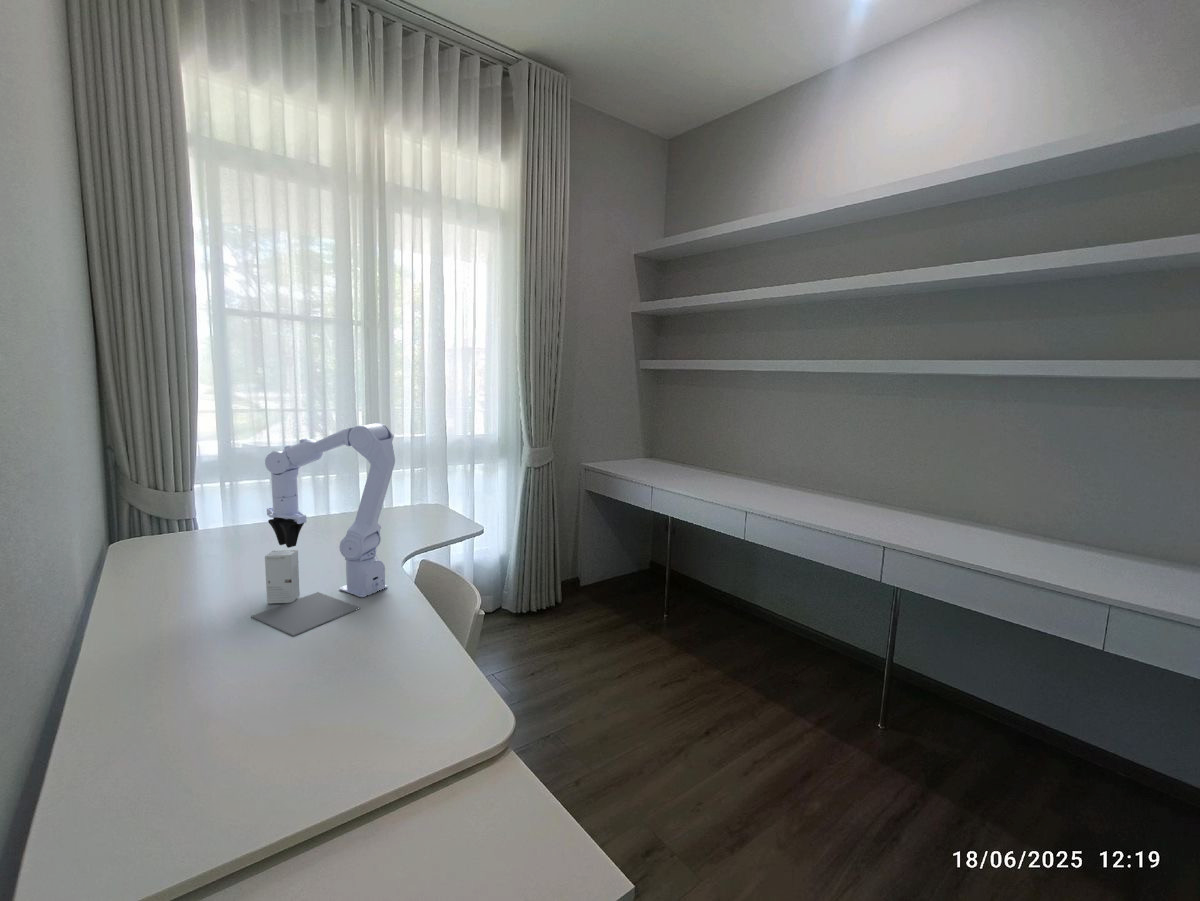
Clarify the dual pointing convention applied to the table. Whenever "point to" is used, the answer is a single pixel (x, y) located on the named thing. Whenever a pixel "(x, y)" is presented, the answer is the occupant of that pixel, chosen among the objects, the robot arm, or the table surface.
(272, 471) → the robot arm
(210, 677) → the table surface
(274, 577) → the skincare box
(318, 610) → the mat
